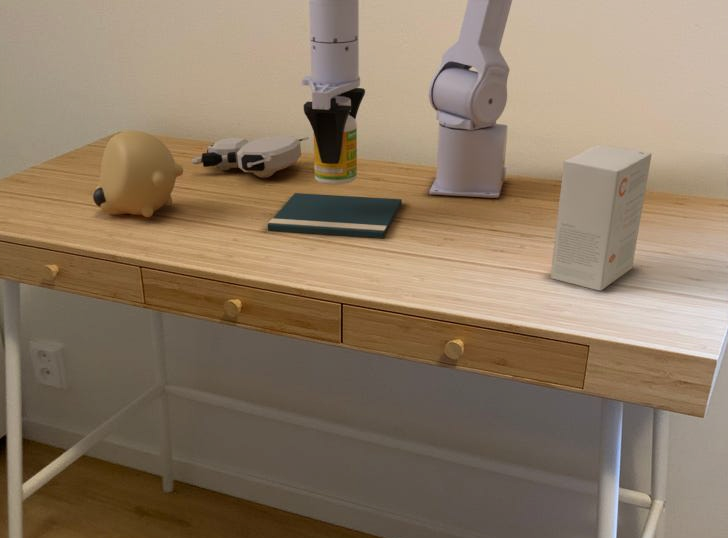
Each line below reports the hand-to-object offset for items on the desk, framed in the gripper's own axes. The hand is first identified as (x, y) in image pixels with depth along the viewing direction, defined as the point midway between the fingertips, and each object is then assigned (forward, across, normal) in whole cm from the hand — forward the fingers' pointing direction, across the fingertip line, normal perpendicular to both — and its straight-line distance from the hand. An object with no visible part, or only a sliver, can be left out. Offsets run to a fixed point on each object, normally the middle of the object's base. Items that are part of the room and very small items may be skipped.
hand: (335, 156), depth 117 cm
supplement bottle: (+3, 0, 0) cm, 3 cm away
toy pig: (+8, +3, -26) cm, 28 cm away
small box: (+8, +13, +32) cm, 36 cm away
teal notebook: (+8, 0, 0) cm, 8 cm away
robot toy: (+8, -18, -18) cm, 26 cm away
